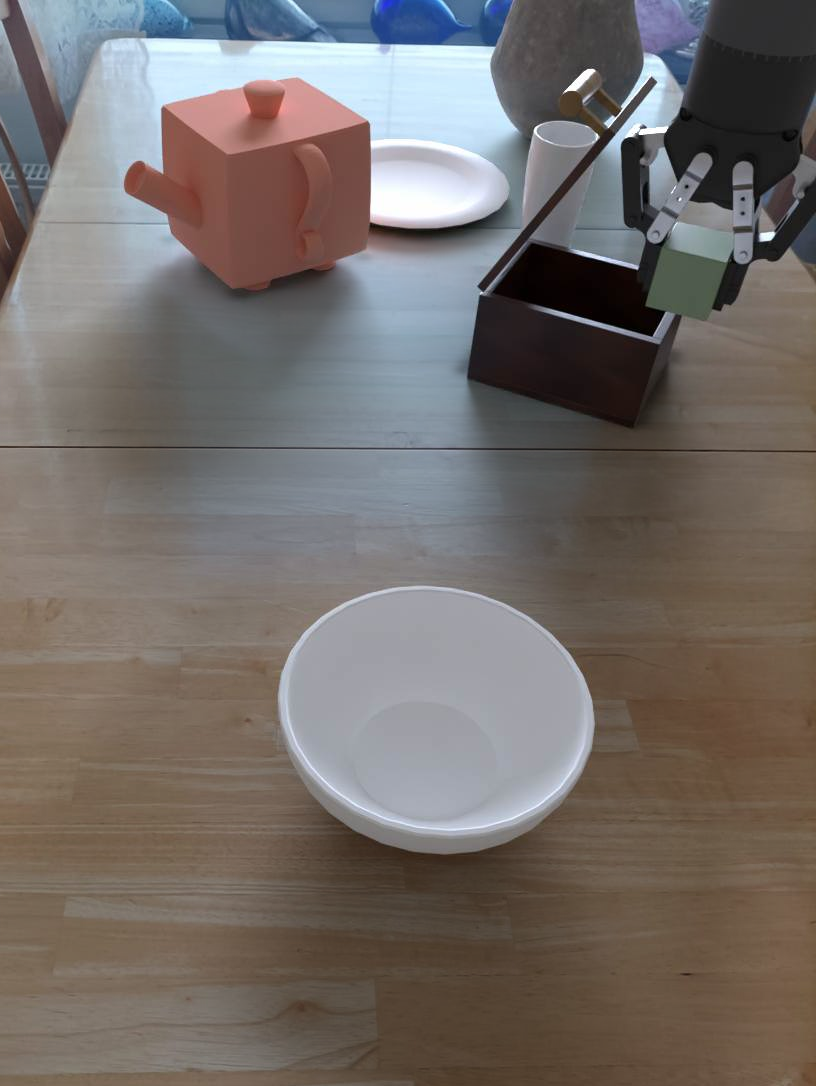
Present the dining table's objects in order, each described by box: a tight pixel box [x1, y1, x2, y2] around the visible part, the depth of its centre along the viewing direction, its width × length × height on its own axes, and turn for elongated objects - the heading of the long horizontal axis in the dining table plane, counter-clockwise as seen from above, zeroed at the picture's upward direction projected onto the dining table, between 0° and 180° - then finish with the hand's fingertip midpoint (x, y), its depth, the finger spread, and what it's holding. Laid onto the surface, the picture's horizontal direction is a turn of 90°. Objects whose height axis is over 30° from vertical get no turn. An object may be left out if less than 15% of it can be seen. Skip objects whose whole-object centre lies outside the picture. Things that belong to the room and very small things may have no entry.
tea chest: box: [466, 238, 683, 429], centre depth 93 cm, size 17×13×9 cm
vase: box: [489, 0, 645, 141], centre depth 126 cm, size 20×19×25 cm
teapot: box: [123, 76, 372, 291], centre depth 102 cm, size 25×23×18 cm
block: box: [646, 221, 734, 323], centre depth 68 cm, size 4×4×4 cm
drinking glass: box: [519, 121, 600, 248], centre depth 104 cm, size 7×7×15 cm
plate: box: [370, 138, 511, 231], centre depth 121 cm, size 25×25×2 cm
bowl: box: [277, 585, 596, 855], centre depth 63 cm, size 20×20×7 cm
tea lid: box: [477, 69, 658, 292], centre depth 85 cm, size 18×13×5 cm
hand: (684, 295), depth 70 cm, fingers closed on block, 4 cm apart
